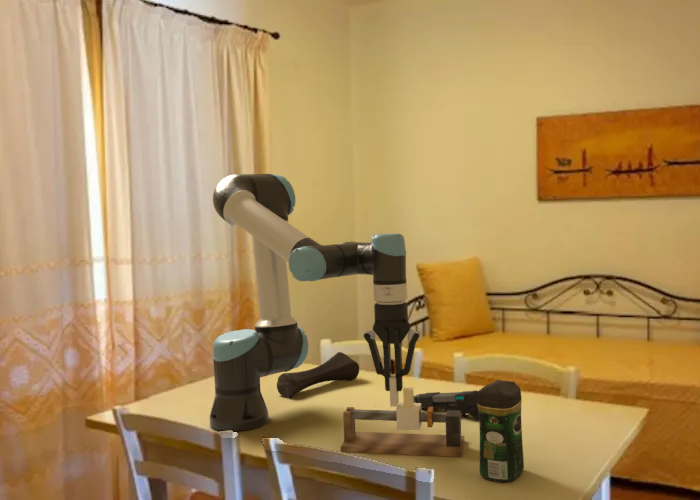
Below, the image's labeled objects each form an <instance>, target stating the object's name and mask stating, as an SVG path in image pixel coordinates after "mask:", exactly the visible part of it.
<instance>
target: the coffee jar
mask: <svg viewBox="0 0 700 500" xmlns="http://www.w3.org/2000/svg"><path fill="white" fill-rule="evenodd" d="M477 391H478V393H477V395H478V404H477V405H478V411H479V422H478V423H479V473H480V476H482V477H484V478H485V479H487V480H489V481H491V482H492V481H493V482H497V483H500V482H512V481H514V480H516V479H517V478H519V476H520V475H521V474H522V473H523V471H524V469H525V468H524V466H525V463H524V460H525V459H524V449H523V447H524V446H523V430H522V401H523V400H522V391H521V387H520V386H519V385H518V384H516V382H515V381H510V380H509V381H508V380H499V379H497V380H496V379H495V381H493V382H490V383H488V384H487V385H485V386H483V387H482V388H480V389H479V390H477Z"/></svg>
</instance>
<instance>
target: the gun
mask: <svg viewBox="0 0 700 500" xmlns="http://www.w3.org/2000/svg"><path fill="white" fill-rule="evenodd" d="M478 391H479V390H468V391H467V390H463V391H459V392H458V391H457V392H440V391H436V392H434V391H433V392H425V393H418V394H416V395H414V403H421V409H425V410H426V411H427V410H428V408H429V407H433V411H437V410H444V412H447V410H457V411H461V416H462V417H464V418H467V417H469V416H471V417H472V418H473V419H474V420H475V421H476V422H478V423H479V411H478V405H477V404H478V395H477V393H478Z"/></svg>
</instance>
